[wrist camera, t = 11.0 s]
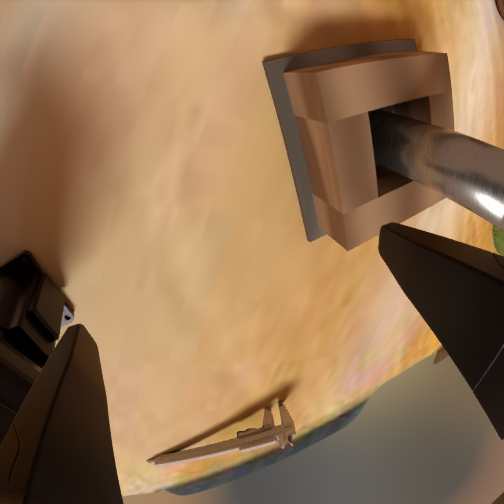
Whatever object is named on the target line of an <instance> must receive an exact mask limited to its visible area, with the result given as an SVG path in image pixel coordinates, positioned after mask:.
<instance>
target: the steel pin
mask: <svg viewBox="0 0 504 504" xmlns="http://www.w3.org/2000/svg"><path fill="white" fill-rule="evenodd" d="M368 116H369V122H370V129H371V136H372V144H373V152H374V160H375V163H377V164H380V165H382V166H384V167H386V168H388V169H391V170H393V171H395V172H397V173H399V174H401V175H403V176H405V177H407V178H410V179H412V180H414V181H416V182H418V183H420V184H422V185H424V186H426V187H428V188H430V189H431V190H433V191H435V192H437V193H439V194H441V195H443V196H445V197H447V198H449V199H450V200H452V201H454V202H456V203H458V204H459V205H461V206H463V207H465V208H467V209H468V210H470V211H472V212H473V213H475V214H477V215H479V216H480V217H482V218H484V219H485V220H487V221H489V222H490V223H492V224H494V225H495V226H497V227H498V228H500V229H502V230H503V231H504V150H503V149H501V148H498V147H496V146H493V145H491V144H488V143H486V142H483V141H481V140H478V139H475V138H473V137H470V136H467V135H464V134H461V133H459V132H456V131H453V130H450V129H447V128H444V127H441V126H437V125H434V124H431V123H428V122H424V121H421V120H417V119H414V118H410V117H407V116H403V115H399V114H395V113H391V112H387V111H383V110H379V109H375V110H372V111H368Z"/></svg>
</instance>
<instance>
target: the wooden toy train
mask: <svg viewBox="0 0 504 504" xmlns="http://www.w3.org/2000/svg"><path fill="white" fill-rule="evenodd" d="M496 1H497V8H498V10H499V12H500V15H501V16H502V18H503V19H504V0H496Z"/></svg>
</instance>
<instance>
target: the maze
mask: <svg viewBox="0 0 504 504" xmlns="http://www.w3.org/2000/svg"><path fill="white" fill-rule="evenodd" d="M493 240H494V246H495V248H496V250H497V252H498V253H499V254H501V255H502V256H504V231H503V230H502V229H500V228H498V227H497V226H495V225H494V224H493Z"/></svg>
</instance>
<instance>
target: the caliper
mask: <svg viewBox="0 0 504 504" xmlns="http://www.w3.org/2000/svg"><path fill="white" fill-rule="evenodd" d="M278 405H279V410H280V416H281V422H282V425H278V426H275V425H274V420H273V415H272V413H271V409H270V408H269V407H267V408H265V411H264V419H263V426H262V428H260V429H247V430H245V431H238V432H237V438H234V439H230V440H227V441H223V442H219V443H215V444H211V445H207V446H203V447H198V448H194V449H189V450H184V451H179V452H173V453H168V454H163V455H160V456H158V457H155V458H154V459H151V460H147V462H148V463H150V464H152V465H153V464H155V465H156V466H158V467H161V466H168V465H174V464H180V463H185V462H190V461H195V460H200V459H205V458H210V457H214V456H218V455H223V454H227V453H231V452H235V451H238V450H240V451H242V452H246V451H250V450H254V449H258V448H261V447H265V446H268V445H272V444H275V443H277V439H279V443H280V447H281V448H282V449H284V447H285V444H286V440H287V442H288V443H289V444H291V445H292V446H293V442H292V437H294V436H296V432H295V427H294V421H293V420H292V418H291V416H290V414H289V412H288V410H287V409H286V407H285V405H284V404H283V403H282V402H278ZM274 426H275V427H274Z"/></svg>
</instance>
